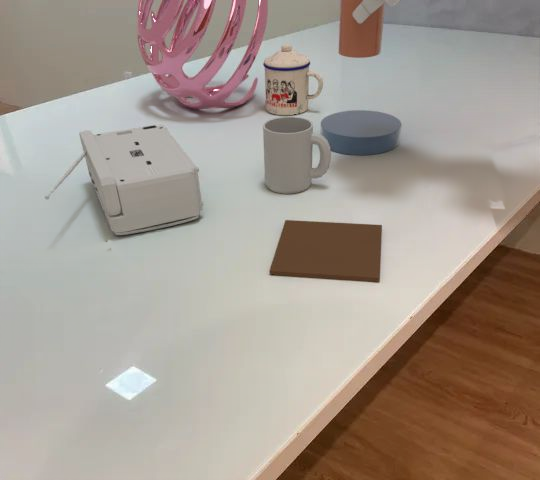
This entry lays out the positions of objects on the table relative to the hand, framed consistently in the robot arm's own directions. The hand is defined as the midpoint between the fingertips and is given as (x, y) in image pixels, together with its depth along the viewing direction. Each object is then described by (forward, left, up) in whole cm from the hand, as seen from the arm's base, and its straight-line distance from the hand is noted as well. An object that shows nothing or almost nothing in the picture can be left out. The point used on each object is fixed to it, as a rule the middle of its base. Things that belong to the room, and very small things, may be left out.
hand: (357, 13), depth 77 cm
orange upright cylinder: (-1, 0, -5) cm, 5 cm away
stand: (-1, -12, -21) cm, 24 cm away
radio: (+23, +12, -17) cm, 32 cm away
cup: (+7, +8, -22) cm, 24 cm away
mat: (+1, +27, -21) cm, 35 cm away
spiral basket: (+32, -31, -22) cm, 49 cm away
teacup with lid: (+13, -28, -22) cm, 37 cm away
